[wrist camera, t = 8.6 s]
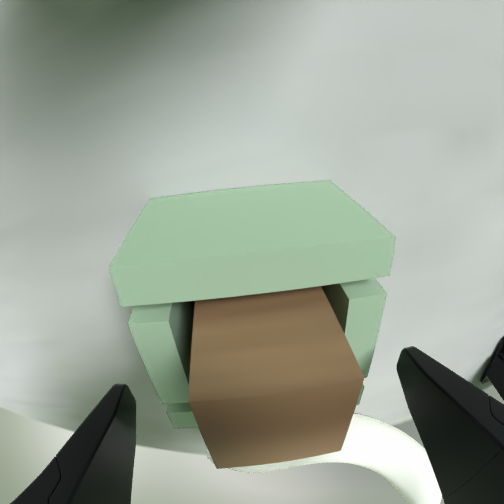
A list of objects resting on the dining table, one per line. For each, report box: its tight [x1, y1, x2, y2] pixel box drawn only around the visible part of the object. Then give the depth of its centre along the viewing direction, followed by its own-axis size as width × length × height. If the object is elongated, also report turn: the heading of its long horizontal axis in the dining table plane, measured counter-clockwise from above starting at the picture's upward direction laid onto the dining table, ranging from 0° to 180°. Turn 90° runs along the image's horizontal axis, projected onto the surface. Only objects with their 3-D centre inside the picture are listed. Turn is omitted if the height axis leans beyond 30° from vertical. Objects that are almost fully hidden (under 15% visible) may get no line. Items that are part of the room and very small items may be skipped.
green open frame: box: [109, 181, 396, 428], centre depth 13 cm, size 8×8×6 cm
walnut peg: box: [188, 286, 364, 469], centre depth 11 cm, size 4×4×9 cm
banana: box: [207, 414, 442, 504], centre depth 16 cm, size 5×19×15 cm, turn 72°
